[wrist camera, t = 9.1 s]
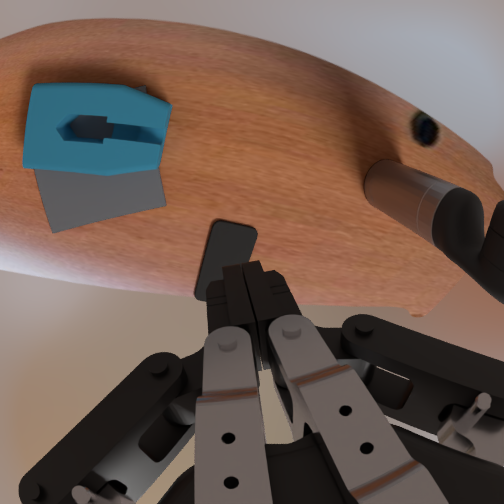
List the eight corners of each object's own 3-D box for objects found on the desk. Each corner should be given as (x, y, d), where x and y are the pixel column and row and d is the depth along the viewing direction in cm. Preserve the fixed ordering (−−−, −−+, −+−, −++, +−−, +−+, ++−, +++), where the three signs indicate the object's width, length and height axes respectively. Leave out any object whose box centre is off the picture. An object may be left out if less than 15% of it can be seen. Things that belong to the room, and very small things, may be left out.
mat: (145, 85, 32) (145, 85, 32) (166, 204, 41) (166, 205, 40) (27, 126, 30) (25, 127, 29) (54, 232, 38) (52, 233, 38)
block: (175, 93, 33) (49, 85, 28) (173, 90, 29) (33, 83, 23) (158, 176, 38) (37, 162, 32) (153, 183, 34) (22, 169, 28)
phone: (193, 299, 49) (214, 219, 43) (193, 297, 50) (213, 218, 44) (233, 305, 51) (260, 229, 45) (233, 302, 52) (258, 227, 46)
